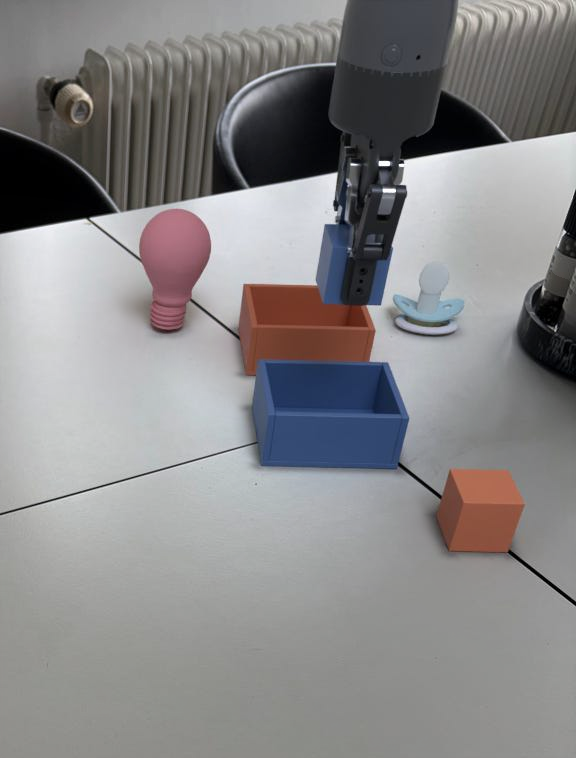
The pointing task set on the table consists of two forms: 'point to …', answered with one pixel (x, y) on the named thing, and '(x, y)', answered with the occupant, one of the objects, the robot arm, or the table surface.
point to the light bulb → (173, 262)
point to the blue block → (335, 262)
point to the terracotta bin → (300, 326)
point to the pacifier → (429, 304)
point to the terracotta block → (479, 510)
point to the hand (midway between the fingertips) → (348, 288)
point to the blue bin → (328, 414)
